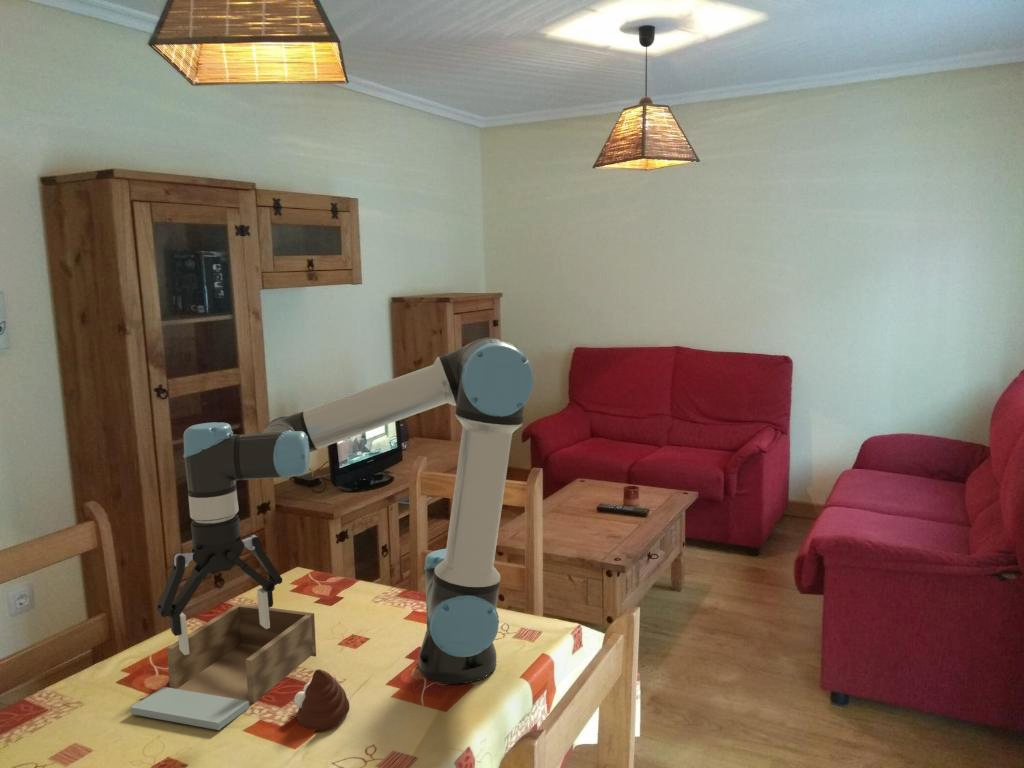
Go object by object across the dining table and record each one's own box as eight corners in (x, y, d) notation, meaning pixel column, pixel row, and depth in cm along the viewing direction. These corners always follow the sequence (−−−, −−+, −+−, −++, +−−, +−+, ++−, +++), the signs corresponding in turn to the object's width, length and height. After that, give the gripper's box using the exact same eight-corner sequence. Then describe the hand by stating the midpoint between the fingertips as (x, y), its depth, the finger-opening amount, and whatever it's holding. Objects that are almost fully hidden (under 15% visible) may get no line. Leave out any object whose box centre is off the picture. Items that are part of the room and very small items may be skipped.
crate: (240, 644, 163) (237, 603, 162) (316, 655, 158) (314, 613, 157) (170, 694, 144) (166, 647, 143) (254, 708, 139) (251, 660, 138)
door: (163, 686, 142) (130, 707, 135) (248, 701, 137) (218, 723, 129) (164, 693, 142) (130, 713, 135) (248, 707, 137) (219, 730, 129)
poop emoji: (332, 738, 130) (330, 684, 128) (286, 731, 132) (283, 679, 130) (358, 706, 139) (356, 656, 138) (314, 701, 141) (311, 651, 140)
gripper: (277, 497, 140) (286, 610, 143) (127, 529, 125) (141, 655, 127) (295, 505, 135) (304, 622, 137) (140, 540, 119) (154, 671, 122)
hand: (226, 638), depth 132 cm, fingers open, 13 cm apart
